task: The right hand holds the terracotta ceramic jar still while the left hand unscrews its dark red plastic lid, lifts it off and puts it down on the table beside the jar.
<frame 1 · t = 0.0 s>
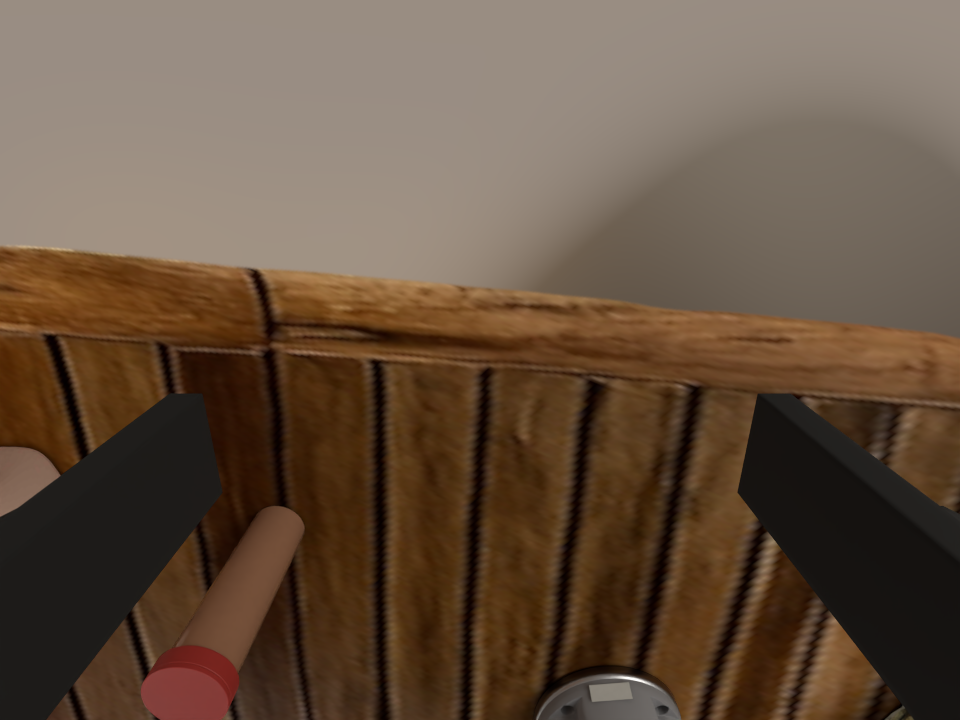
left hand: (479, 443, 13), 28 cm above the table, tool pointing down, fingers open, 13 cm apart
lid: (187, 693, 33), point 16 cm above the table, screwed on, not yet turned
anatomical model: (11, 504, 47), on the table
jar: (279, 526, 48), on the table
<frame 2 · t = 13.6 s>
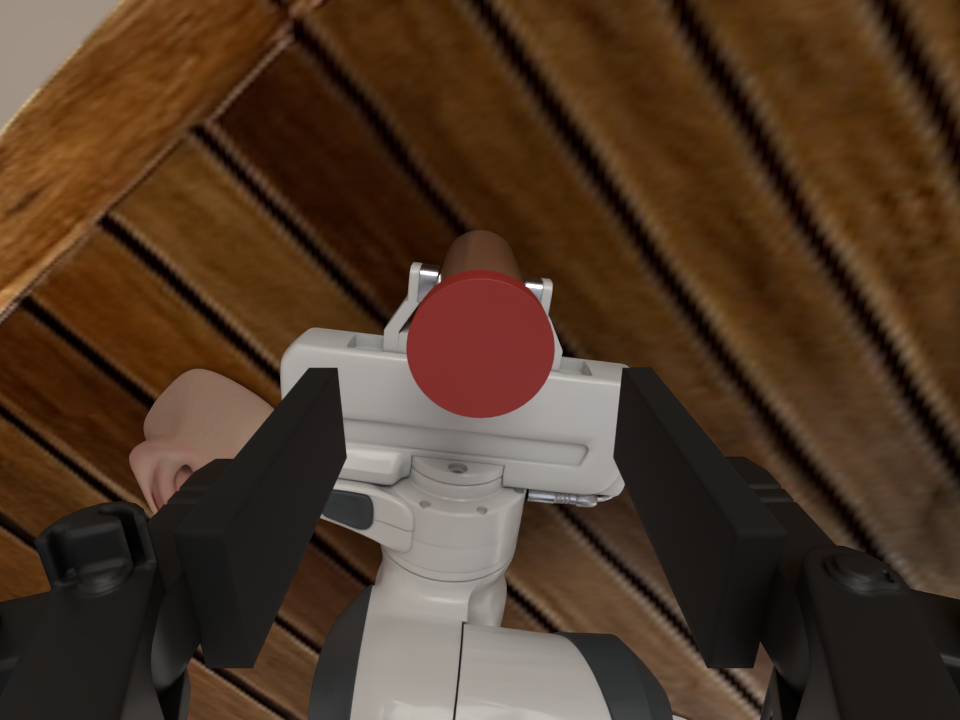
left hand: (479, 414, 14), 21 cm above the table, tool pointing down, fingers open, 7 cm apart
lid: (480, 348, 19), point 16 cm above the table, screwed on, not yet turned
anatomical model: (224, 455, 39), on the table
jar: (480, 266, 34), on the table, touching right hand
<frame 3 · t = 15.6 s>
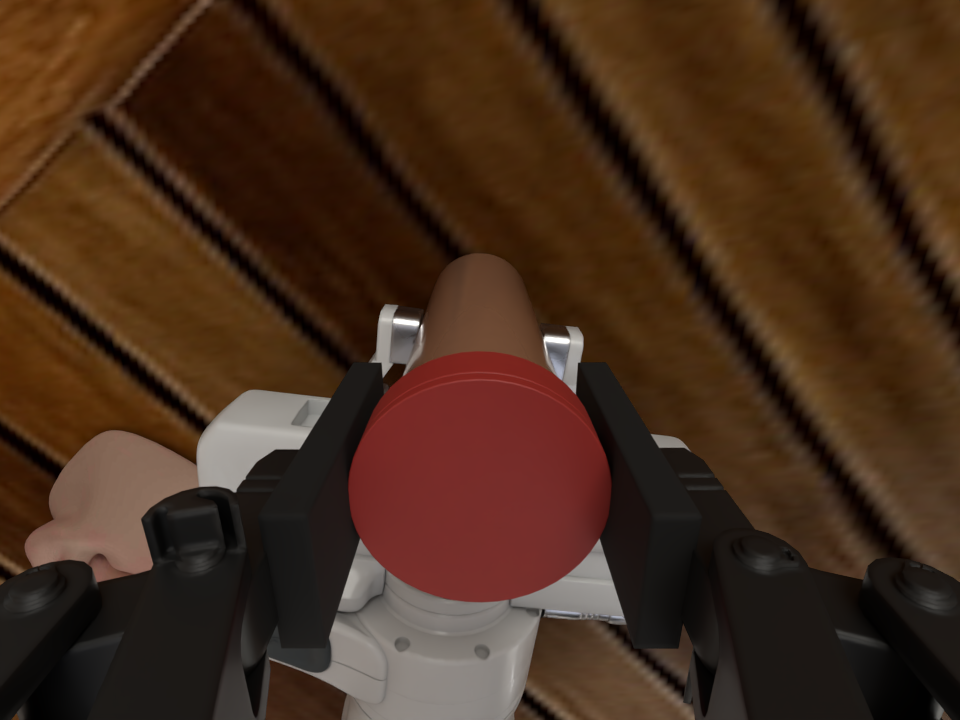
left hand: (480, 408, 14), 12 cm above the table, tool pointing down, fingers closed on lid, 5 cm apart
lid: (479, 491, 11), point 16 cm above the table, screwed on, not yet turned, touching left hand
anatomical model: (155, 534, 31), on the table
jar: (479, 300, 26), on the table, touching right hand
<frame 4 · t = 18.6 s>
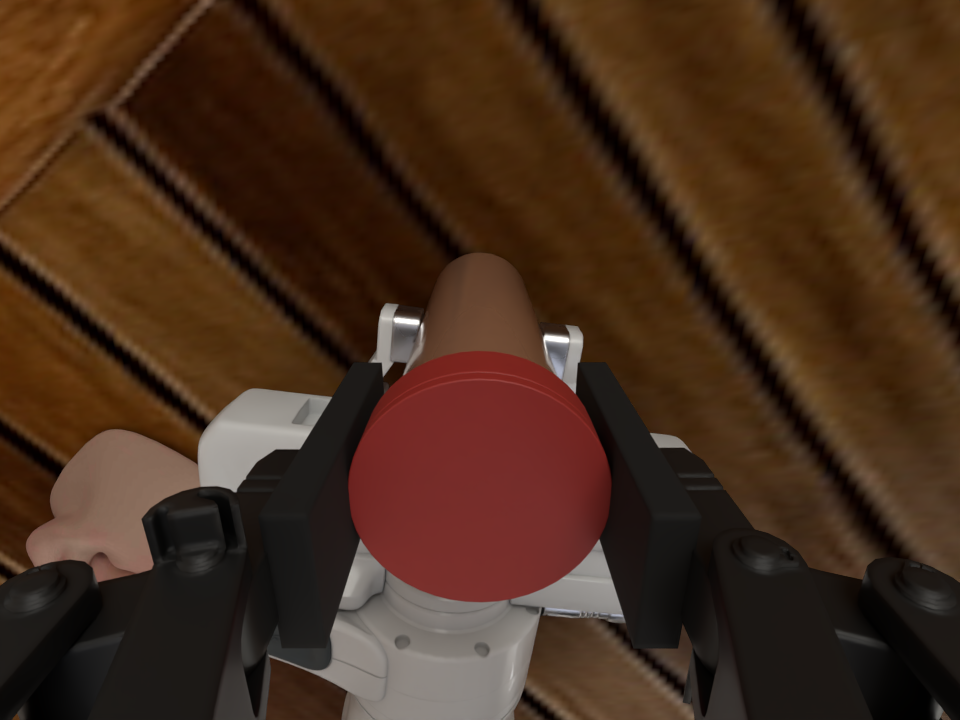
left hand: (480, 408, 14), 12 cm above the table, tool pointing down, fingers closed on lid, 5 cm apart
lid: (479, 490, 11), point 16 cm above the table, turned 82° so far, risen 0.1 cm, still on its thread, touching left hand
anatomical model: (156, 533, 31), on the table
jar: (479, 299, 26), on the table, touching right hand
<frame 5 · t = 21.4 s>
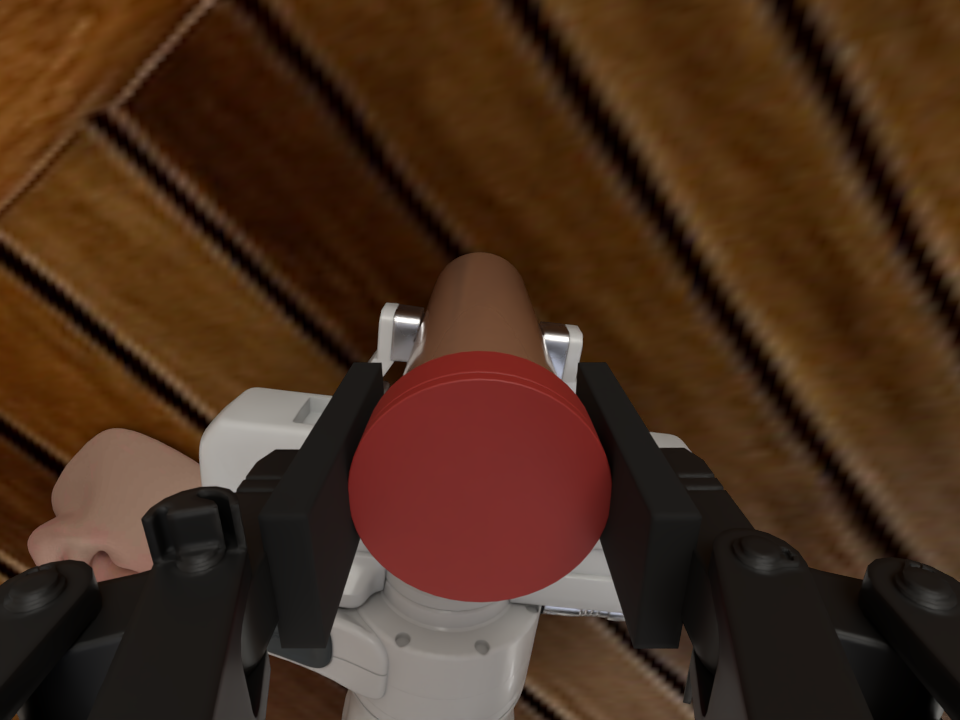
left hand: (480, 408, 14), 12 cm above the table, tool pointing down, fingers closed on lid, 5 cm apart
lid: (479, 490, 11), point 16 cm above the table, turned 165° so far, risen 0.2 cm, still on its thread, touching left hand
anatomical model: (157, 532, 31), on the table
jar: (479, 299, 26), on the table, touching right hand
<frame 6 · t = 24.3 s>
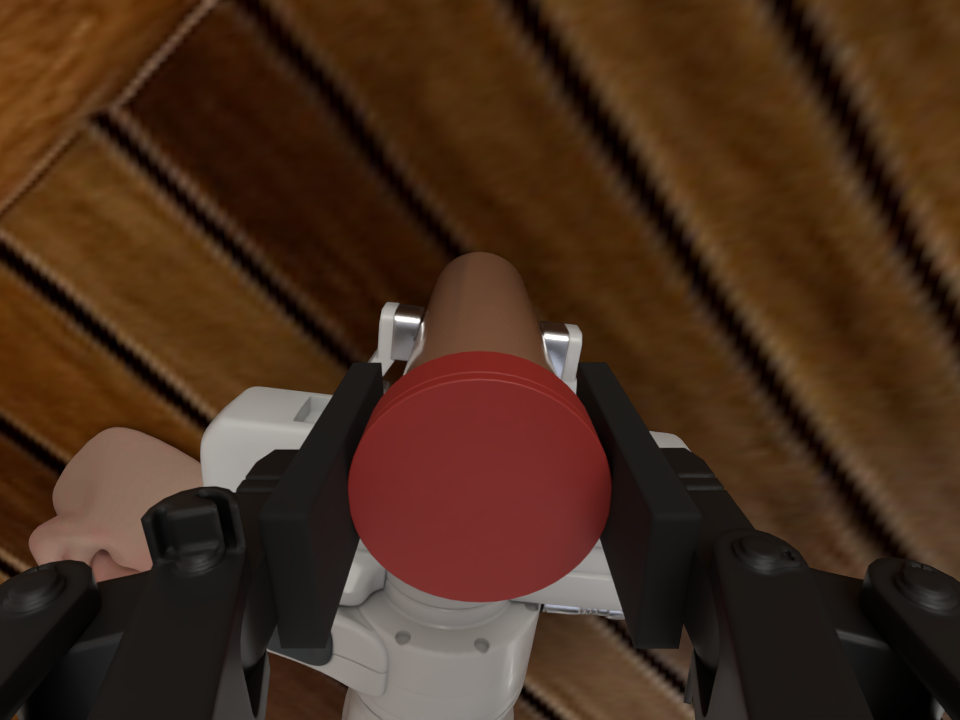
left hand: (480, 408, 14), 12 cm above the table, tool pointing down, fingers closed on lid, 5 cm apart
lid: (479, 490, 11), point 16 cm above the table, turned 247° so far, risen 0.3 cm, still on its thread, touching left hand
anatomical model: (157, 531, 31), on the table
jar: (479, 298, 26), on the table, touching right hand
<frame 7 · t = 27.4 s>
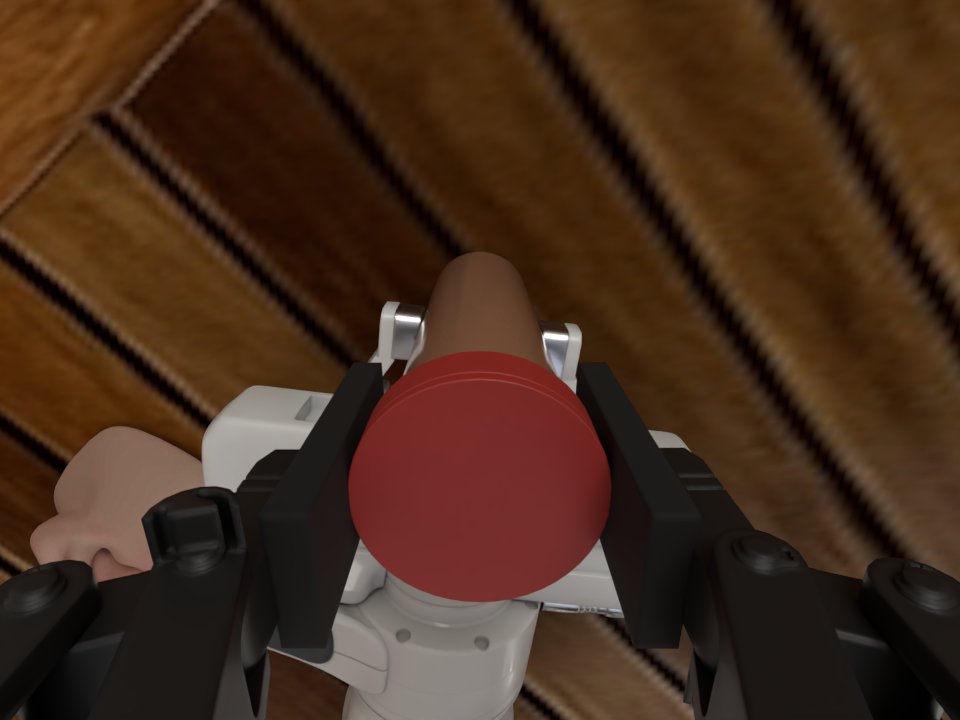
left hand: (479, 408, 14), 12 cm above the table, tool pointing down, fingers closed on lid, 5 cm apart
lid: (479, 490, 11), point 16 cm above the table, turned 330° so far, risen 0.4 cm, still on its thread, touching left hand
anatomical model: (158, 530, 31), on the table
jar: (479, 298, 26), on the table, touching right hand
when the left hand's fingers open (0 cm above the table, at t = 34.1 s): lid drops 3 cm, point 1 cm above the table.
when the right hand's fingers open (6 cm above the table, at t = 34.8 s): jar stays where it is, on the table.
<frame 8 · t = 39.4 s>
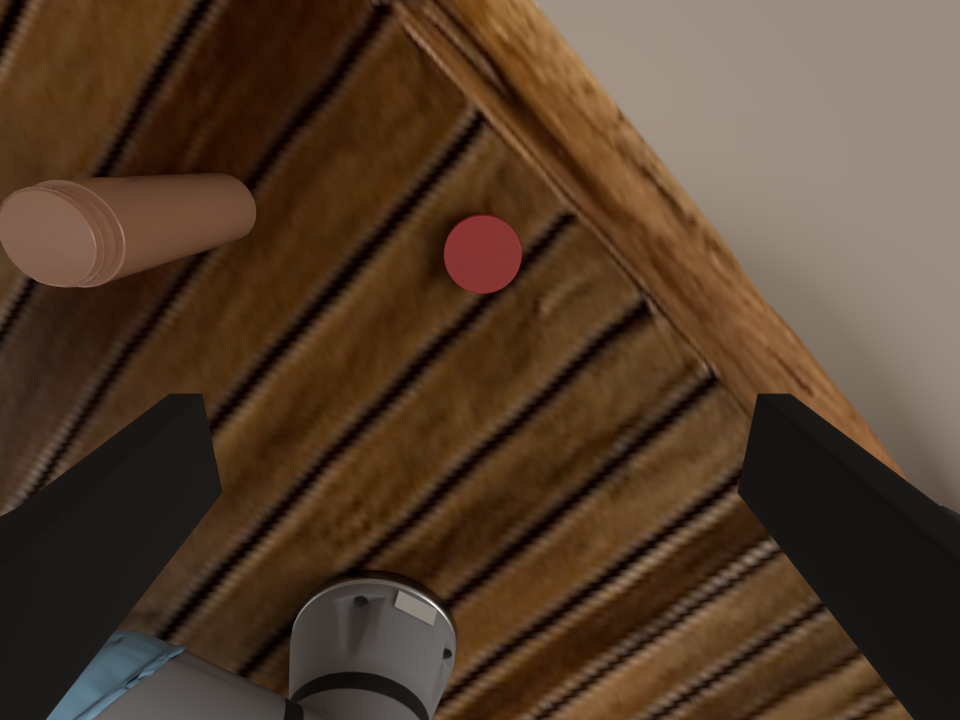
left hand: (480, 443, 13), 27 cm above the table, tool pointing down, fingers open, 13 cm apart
lid: (482, 254, 36), point 1 cm above the table, off its thread
jar: (223, 207, 36), on the table
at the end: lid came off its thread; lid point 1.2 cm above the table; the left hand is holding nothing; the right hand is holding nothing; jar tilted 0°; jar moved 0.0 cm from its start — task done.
